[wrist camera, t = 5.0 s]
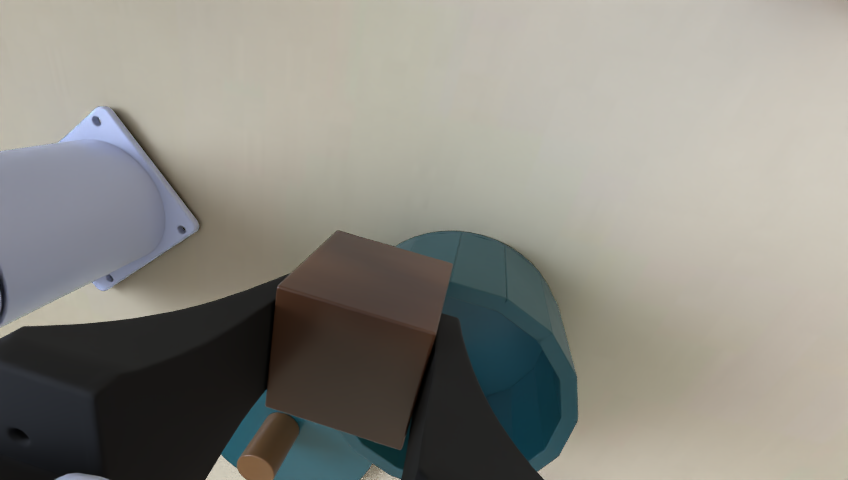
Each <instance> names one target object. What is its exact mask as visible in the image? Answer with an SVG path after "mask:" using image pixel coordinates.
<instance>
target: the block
mask: <svg viewBox="0 0 848 480" xmlns="http://www.w3.org/2000/svg"><path fill="white" fill-rule="evenodd" d="M452 268H453V264H452V263H449V262H446V261H442V260H439V259H435V258H432V257H428V256H425V255H422V254H418V253H415V252H411V251H408V250H404V249H401V248H397V247H394V246H390V245H387V244H383V243H380V242H377V241H373V240H370V239H366V238H363V237H359V236H356V235H352V234H349V233H345V232H342V231H336V232H335V233H334V234H333V235H331V236H330V237H329V238H328V239H327V240H326V241H325V242H324V243H323V244H322V245H321V246H320V247H319V248H317V249H316V250H315V251H314V252H313V253H312V254H311V255H310V256H309V257H308V258H307V259H306V260H305V261H304V262H302V263H301V264H300V265H299V266H298V267H297V268H296V269H295V270H294V271H293V272H292V273H291V274H290V275H288V276H287V277H286V278H285V279H284V280H283V281H282V282H281V283H280V284H279V285H278V286H277V291H276V301H275V311H274V321H273V331H272V341H271V351H270V361H269V371H268V381H267V391H266V402H265V406H266V407H268V408H271V409H274V410H278V411H281V412H284V413H287V414H290V415H293V416H296V417H299V418H302V419H305V420H308V421H311V422H315V423H318V424H321V425H324V426H327V427H330V428H333V429H336V430H339V431H342V432H345V433H348V434H352V435H355V436H358V437H361V438H364V439H367V440H370V441H373V442H376V443H379V444H382V445H385V446H389V447H392V448H395V449H398V450H401V449H402V447H403V444H404V441H405V437H406V434H407V431H408V427H409V424H410V421H411V417H412V414H413V411H414V407H415V404H416V401H417V397H418V394H419V391H420V387H421V384H422V381H423V377H424V374H425V371H426V367H427V364H428V361H429V357H430V354H431V351H432V347H433V344H434V341H435V337H436V334H437V330H438V325H439V321H440V317H441V313H442V309H443V305H444V301H445V297H446V293H447V289H448V284H449V280H450V276H451V272H452Z"/></svg>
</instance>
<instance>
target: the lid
mask: <svg viewBox="0 0 848 480" xmlns="http://www.w3.org/2000/svg"><path fill="white" fill-rule="evenodd" d="M266 391H267V389H266V390H265V392H264V393H263V394H262V395H261V397H260V398H259V399H258V401H257V402H256V403H255V404H254V406H253V407H252V408H251V409H250V411H249V412H248V414H247V415H246V416H245V418H244V419H243V420H242V422H241V423H240V425H239V427H238V428H237V430H236V431H235V433H234V434H233V436H232V437H231V439H230V441H229V442H228V444H227V445H226V447H225V448H224V450H223V451H222V453H221V455H222V456H223V457H224V458H225V459H226V460H227V461H229V462H230V463H231V464H232V465H233V466H235V467H236V468H237V469H238V471H239V473H240V474H241V475H242V476H243V477H244V478H245V479H247V480H360V479H361V478H362V477H363V476H364V475H365V473H366V472H367V471H368V470H369V468H370V466H371V465H372V463H371V462H370V461H368V460H367V459H366V458H364V457H363V456H361V455H360V454H358V453H357V452H355V451H354V450H353V449H352V448H351V446H350V445H349V444H348V442H347V441H346V440H345V439H344V437H343V436H342V435H341V434H340V432H339V431H338V430H336V429H333V428H330V427H327V426H324V425H321V424H318V423H315V422H311V421H308V420H305V419H302V418H299V417H296V416H293V415H290V414H287V413H284V412H281V411H278V410H274V409H271V408H268V407H266V406H265V402H266Z"/></svg>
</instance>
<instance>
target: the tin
mask: <svg viewBox="0 0 848 480" xmlns="http://www.w3.org/2000/svg"><path fill="white" fill-rule="evenodd" d="M395 247H397V248H401V249H404V250H408V251H411V252H415V253H418V254H422V255H425V256H428V257H432V258H435V259H439V260H442V261H446V262H449V263H452V264H453V268H452V272H451V276H450V280H449V284H448V289H447V293H446V297H445V301H444V305H443V309H442V313H443V314H447V315H450V316H453V317H457V318H458V319H459V321H460V324H461V330H462V335H463V339H464V343H465V346H466V350H467V353H468V356H469V359H470V362H471V365H472V367H473V370H474V373H475V375H476V377H477V380H478V382H479V384H480V387H481V389H482V391H483V393H484V395H485V397H486V399H487V401H488V403H489V405H490V407H491V409H492V410H493V412H494V414H495V416H496V417H497V419H498V421H499V422H500V424H501V425H502V427H503V428H504V430H505V431H506V433H507V434H508V435H509V437H510V438H511V440H512V441H513V443H514V444H515V445H516V447H517V448H518V449H519V451H520V452H521V453H522V454H523V456H524V457H525V458H526V459H527V461H528V462H529V463H530V464H531V466H532V467H533V468H534V469H535V470H536V472H537V471H539V470H540V469H542V468H543V467H544V466H546V465H547V464H549V463H550V462H551V461H553V460H554V459H556V458H557V457H558V456H559V455H560V453H561V451H562V449H563V447H564V445H565V444H566V442H567V440H568V438H569V436H570V434H571V433H572V431H573V429H574V427H575V425H576V423H577V421H578V395H577V375H576V371H575V367H574V364H573V360H572V356H571V352H570V349H569V345H568V341H567V338H566V334H565V330H564V326H563V323H562V319H561V315H560V311H559V308H558V304H557V303H556V301H555V299H554V297H553V295H552V293H551V291H550V288H549V286H548V284H547V283H546V281H545V280H544V278H543V277H542V275H541V274H540V272H539V271H538V270H537V269H536V268H535V267H534V266H533V264H532V263H530V262H529V261H528V260H527V259H526V258H525V257H524V256H523V255H521V254H520V253H518V252H517V251H515V250H514V249H512V248H511V247H509V246H507V245H505V244H503V243H501V242H499V241H497V240H495V239H492V238H489V237H486V236H483V235H479V234H475V233H470V232H461V231H439V232H433V233H427V234H423V235H420V236H416V237H413V238H411V239H409V240H406V241H404V242H402V243H400V244H399V245H397V246H395ZM411 420H412V417H411ZM410 426H411V421H410V424H409V427H408V431H407V434H406V437H405V441H404V444H403V447H402V449H401V450H398V449H395V448H392V447H389V446H385V445H382V444H379V443H376V442H373V441H370V440H367V439H364V438H361V437H358V436H355V435H352V434H348V433H345V432H342V431H339V430H338V431H339V432H340V434H341V435H342V436H343V437H344V439H345V440H346V441H347V442H348V444H349V445H350V446H351V448H352V449H353V450H354V451H355V452H357V453H358V454H360V455H361V456H363V457H364V458H366V459H367V460H368V461H370V462H371V463H373V464H374V465H376V466H377V467H379V468H380V469H382V470H383V471H385V472H386V473H388V474H389V475H391V476H393V477H396V478H399V479H401V477H402V473H403V468H404V463H405V458H406V452H407V445H408V439H409V433H410Z"/></svg>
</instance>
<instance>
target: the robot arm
mask: <svg viewBox="0 0 848 480" xmlns="http://www.w3.org/2000/svg"><path fill="white" fill-rule="evenodd" d="M99 119H100V121H101V123H100V122H99ZM182 226H183V227H184V228H185V230H186V231H184V230H183V228H182ZM198 229H199V223H198V221H197V220H196V218H195V217H194V216H193V214H192V213H191V212H190V210H189V209H188V208H187V207H186V205H185V204H184V203H183V201H182V200H181V199H180V197H179V196H178V195H177V193H176V192H175V191H174V190H173V188H172V187H171V186H170V184H169V183H168V182H167V180H166V179H165V178H164V176H163V175H162V174H161V173H160V171H159V170H158V169H157V167H156V166H155V165H154V163H153V162H152V161H151V159H150V158H149V157H148V156H147V154H146V153H145V152H144V150H143V149H142V148H141V146H140V145H139V144H138V142H137V141H136V140H135V139H134V137H133V136H132V135H131V133H130V132H129V131H128V129H127V128H126V127H125V126H124V124H123V123H122V122H121V120H120V119H119V118H118V116H117V115H116V114H115V112H114V111H113V110H112V109H111V108H109V107H107V106H99V107H97V108H95V109H94V110H93V111H92V112H91V113H90V114H89V115H88V116H87V117H86V118H85V119H83V120H82V121H81V122H80V123H79V124H78V125H77V126H76V127H75V128H74V129H73V130H72V131H70V132H69V133H68V134H67V135H66V136H65V137H64V138H63V139H62V140H61V141H60V142H58V143H53V144H46V145H39V146H32V147H25V148H18V149H11V150H4V151H0V328H1V327H3V326H5V325H7V324H9V323H11V322H13V321H15V320H17V319H19V318H21V317H23V316H25V315H27V314H29V313H31V312H33V311H35V310H37V309H39V308H41V307H43V306H45V305H47V304H49V303H51V302H53V301H55V300H57V299H59V298H61V297H63V296H65V295H67V294H69V293H71V292H73V291H75V290H77V289H79V288H81V287H83V286H85V285H87V284H89V283H91V282H92V283H93V284H94V285H95V286H96V287H97V288H98V289H99V290H101V291H106V290H108V289H110V288H111V287H113V286H114V285H116V284H118V283H119V282H121V281H122V280H124V279H125V278H127V277H128V276H130V275H131V274H133V273H134V272H136V271H137V270H139V269H140V268H142V267H143V266H145V265H146V264H148V263H149V262H151V261H152V260H154V259H155V258H157V257H158V256H160V255H161V254H163V253H165V252H166V251H168V250H169V249H171V248H172V247H174V246H175V245H177V244H178V243H180V242H181V241H183V240H184V239H186V238H187V237H189V236H190V235H192V234H193V233H195V232H196V231H197V230H198ZM290 274H291V273H290ZM290 274H287V275H285V276H282V277H279V278H277V279H274V280H272V281H269V282H267V283H264V284H261V285H259V286H256V287H254V288H251V289H248V290H246V291H243V292H240V293H237V294H234V295H231V296H228V297H225V298H222V299H219V300H216V301H212V302H209V303H205V304H202V305H198V306H194V307H190V308H186V309H182V310H177V311H173V312H167V313H162V314H156V315H150V316H145V317H139V318H133V319H125V320H117V321H108V322H98V323H87V324H73V325H51V326H24V327H21V328H20V329H18V330H16V331H14V332H12V333H10V334H8V335H6V336H4V337H2V338H0V480H205V479H206V478H207V476H208V474H209V473H210V471H211V469H212V468H213V466H214V465H215V463H216V461H217V460H218V458H219V456H220V455H221V453H222V451H223V450H224V448H225V447H226V445H227V444H228V442H229V441H230V439H231V437H232V436H233V434H234V433H235V431H236V430H237V428H238V427H239V425H240V423H241V422H242V420H243V419H244V418H245V416H246V415H247V414H248V412H249V411H250V409H251V408H252V407H253V406H254V404H255V403H256V402H257V401H258V399H259V398H260V397H261V395H262V394H263V393H264V392H265V390H266V389H267V381H268V371H269V361H270V351H271V341H272V331H273V321H274V311H275V301H276V291H277V286H278V285H279V284H280V283H281V282H282V281H283V280H284V279H285V278H286V277H287V276H288V275H290ZM401 480H544V479H543V478H542V477H541V476H540V475H539V474H538V473H537V472H536V470H535V469H534V468H533V467H532V466H531V464H530V463H529V462H528V461H527V459H526V458H525V457H524V456H523V454H522V453H521V452H520V451H519V449H518V448H517V447H516V445H515V444H514V443H513V441H512V440H511V438H510V437H509V435H508V434H507V433H506V431H505V430H504V428H503V427H502V425H501V424H500V422H499V421H498V419H497V417H496V416H495V414H494V412H493V410H492V409H491V407H490V405H489V403H488V401H487V399H486V397H485V395H484V393H483V391H482V389H481V387H480V384H479V382H478V380H477V377H476V375H475V373H474V370H473V367H472V365H471V362H470V359H469V356H468V353H467V350H466V346H465V343H464V339H463V335H462V330H461V324H460V321H459V319H458V318H457V317H453V316H450V315H447V314H443V313H441V317H440V321H439V325H438V330H437V334H436V337H435V341H434V344H433V347H432V351H431V354H430V357H429V361H428V364H427V367H426V371H425V374H424V377H423V381H422V384H421V387H420V391H419V394H418V397H417V401H416V404H415V407H414V411H413V414H412V420H411V426H410V433H409V439H408V445H407V452H406V458H405V463H404V468H403V473H402V477H401Z"/></svg>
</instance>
